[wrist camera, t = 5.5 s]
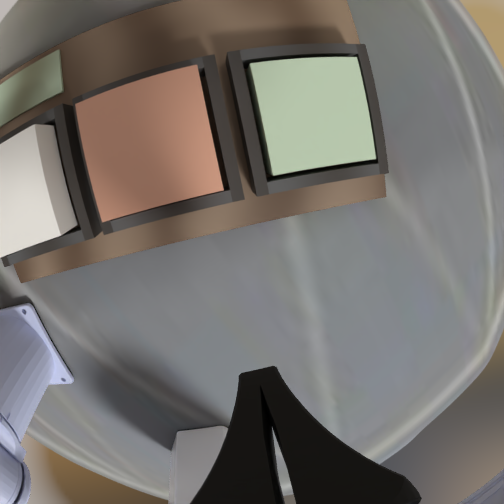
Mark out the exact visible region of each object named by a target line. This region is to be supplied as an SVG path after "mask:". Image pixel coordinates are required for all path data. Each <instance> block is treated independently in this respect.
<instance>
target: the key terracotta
mask: <svg viewBox="0 0 504 504" xmlns="http://www.w3.org/2000/svg"><path fill="white" fill-rule="evenodd" d="M75 106H76V113H77V119H78V124H79V130H80V135H81V140H82V145H83V150H84V155H85V159H86V164H87V168H88V172H89V176H90V180H91V184H92V188H93V192H94V196H95V199H96V203H97V206H98V210H99V213H100V217H101V220H102V222H105V221H109V220H112V219H115V218H119V217H122V216H126V215H129V214H133V213H136V212H140V211H143V210H147V209H151V208H154V207H158V206H162V205H165V204H169V203H173V202H177V201H181V200H185V199H189V198H193V197H197V196H201V195H206V194H210V193H214V192H218V191H223V190H224V189H223V185H222V180H221V175H220V171H219V166H218V162H217V157H216V152H215V148H214V143H213V138H212V134H211V129H210V124H209V119H208V115H207V110H206V105H205V100H204V95H203V91H202V86H201V81H200V76H199V71H198V66H197V65H192V66H188V67H184V68H180V69H176V70H172V71H168V72H164V73H161V74H157V75H154V76H150V77H147V78H144V79H141V80H137V81H134V82H131V83H128V84H125V85H122V86H120V87H117V88H114V89H111V90H109V91H106V92H103V93H101V94H98V95H96V96H93V97H91V98H88V99H86V100H84V101H81V102H79V103H77V104H75Z"/></svg>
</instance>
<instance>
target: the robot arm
mask: <svg viewBox="0 0 504 504" xmlns="http://www.w3.org/2000/svg"><path fill="white" fill-rule="evenodd" d="M24 309H25V310H26V311H25V310H24ZM73 381H74V378H73V376H72V374H71V373H70V371H69V370H68V368H67V367H66V365H65V363H64V362H63V360H62V359H61V357H60V355H59V354H58V352H57V350H56V348H55V347H54V345H53V343H52V341H51V340H50V338H49V336H48V334H47V332H46V330H45V329H44V327H43V325H42V323H41V321H40V319H39V317H38V315H37V313H36V311H35V309H34V307H33V306H32V305H31V304H30V303H26V304H21V305H17V306H13V307H8V308H4V309H0V504H27V502H28V500H29V496H30V491H31V478H30V473H29V469H28V467H27V465H26V464H25V463H24V462H23V460H24V457H25V454H26V450H25V449H24V448H23V447H22V446H21V445H20V443H21V440H22V438H23V436H24V434H25V432H26V429H27V427H28V425H29V423H30V421H31V419H32V416H33V414H34V412H35V410H36V408H37V406H38V404H39V402H40V400H41V398H42V396H43V394H44V392H45V390H46V388H47V386H48V384H71V383H72V382H73ZM272 428H273V430H274V433H275V436H276V439H277V442H278V444H279V447H280V450H281V452H282V455H283V458H284V461H285V463H286V466H287V469H288V473H289V477H290V481H291V485H292V489H293V493H294V497H295V500H296V504H419V502H420V501H421V497H420V494H419V492H418V491H417V490H416V488H415V487H414V486H413V485H412V483H411V482H410V481H409V480H408V479H406V477H405V476H403V475H401V474H398V473H396V472H394V471H391V470H389V469H387V468H385V467H383V466H381V465H379V464H377V463H375V462H373V461H372V460H370V459H368V458H366V457H365V456H363V455H361V454H360V453H358V452H357V451H355V450H354V449H352V448H351V447H349V446H348V445H346V444H345V443H343V442H342V441H341V440H339V439H338V438H337V437H335V436H334V435H333V434H332V433H331V432H329V431H328V430H327V429H326V428H325V427H324V426H322V425H321V424H320V423H319V422H318V421H317V420H316V419H315V418H314V417H313V416H312V415H311V414H310V413H309V412H308V411H307V410H306V409H305V407H304V406H303V405H302V404H301V403H300V402H299V400H298V399H297V398H296V397H295V396H294V394H293V393H292V392H291V390H290V389H289V388H288V386H287V385H286V383H285V382H284V380H283V379H282V377H281V375H280V373H279V371H278V369H277V367H275V366H271V367H267V368H262V369H258V370H254V371H249V372H244V373H241V374H240V375H239V383H238V391H237V397H236V402H235V406H234V410H233V414H232V418H231V422H230V425H229V428H228V431H227V434H226V437H225V440H224V442H223V445H222V447H221V450H220V452H219V454H218V456H217V459H216V461H215V463H214V465H213V467H212V469H211V471H210V472H209V474H208V476H207V478H206V480H205V481H204V483H203V485H202V486H201V488H200V489H199V491H198V492H197V494H196V495H195V497H194V498H193V500H192V501H191V503H190V504H285V502H284V498H283V494H282V490H281V486H280V482H279V476H278V471H277V463H276V455H275V447H274V440H273V432H272ZM458 504H504V469H503V470H502V471H501V472H500V473H499V474H497V475H496V476H495V477H494V478H493V479H491V480H490V481H489V482H488V483H486V484H485V485H484V486H482V487H481V488H480V489H478V490H477V491H476V492H474V493H473V494H471V495H470V496H469V497H467V498H466V499H464V500H463V501H461V502H460V503H458Z"/></svg>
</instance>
